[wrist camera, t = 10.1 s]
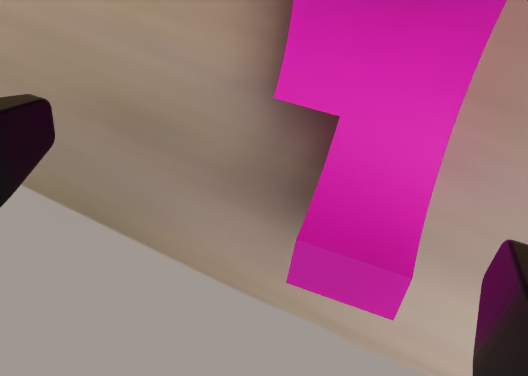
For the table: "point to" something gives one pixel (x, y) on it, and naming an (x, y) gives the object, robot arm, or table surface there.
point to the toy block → (377, 132)
